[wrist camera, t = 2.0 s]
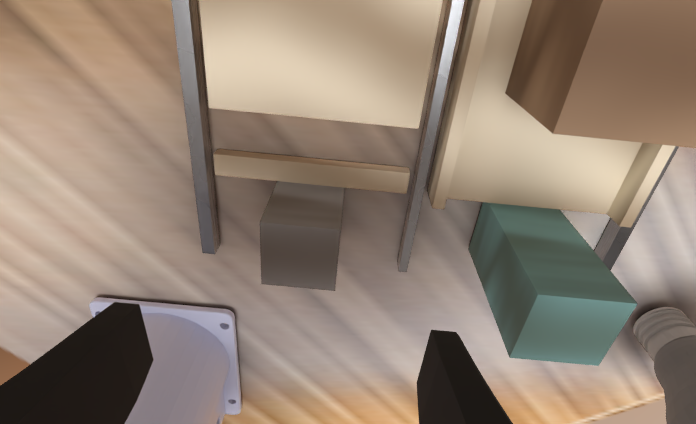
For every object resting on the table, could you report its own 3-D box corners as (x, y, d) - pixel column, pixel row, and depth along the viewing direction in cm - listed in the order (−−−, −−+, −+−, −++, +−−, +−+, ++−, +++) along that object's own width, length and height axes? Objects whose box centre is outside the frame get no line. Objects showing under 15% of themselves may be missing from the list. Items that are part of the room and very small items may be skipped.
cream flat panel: (395, 241, 20) (401, 297, 16) (223, 224, 20) (194, 277, 16) (458, -102, 13) (493, -130, 9) (193, -131, 13) (129, -170, 9)
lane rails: (591, 279, 20) (599, 290, 20) (208, 243, 20) (202, 252, 20) (780, -77, 13) (804, -80, 12) (164, -144, 12) (153, -151, 12)
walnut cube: (621, 104, 15) (708, 149, 11) (505, 93, 15) (553, 133, 11) (682, -33, 13) (817, -35, 9) (545, -47, 13) (623, -56, 9)
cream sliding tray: (585, 260, 20) (671, 372, 14) (415, 243, 20) (435, 350, 14) (760, -90, 13) (1078, -143, 7) (494, -119, 12) (600, -196, 7)
